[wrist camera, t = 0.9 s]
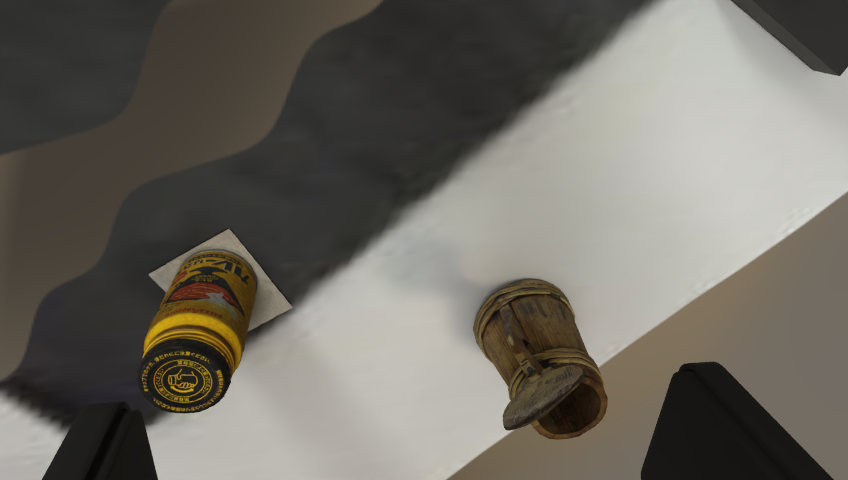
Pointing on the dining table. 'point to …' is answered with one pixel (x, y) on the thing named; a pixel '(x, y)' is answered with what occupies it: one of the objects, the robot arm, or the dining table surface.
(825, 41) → the switch base
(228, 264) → the condiment
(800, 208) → the dining table surface
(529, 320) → the wooden mug
